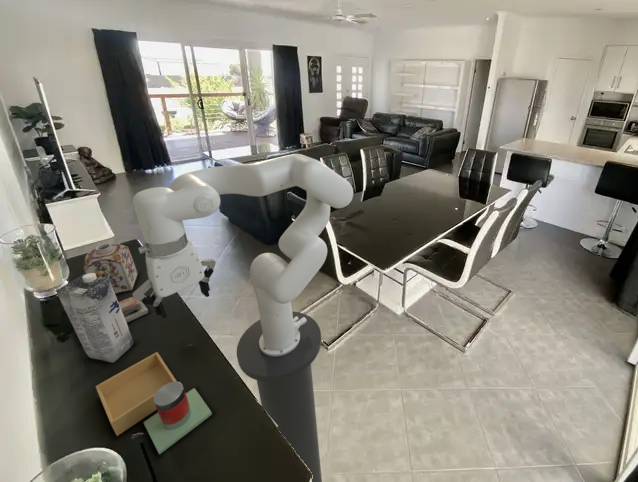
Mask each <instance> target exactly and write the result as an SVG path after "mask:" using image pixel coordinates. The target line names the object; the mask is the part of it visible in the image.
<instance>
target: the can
mask: <svg viewBox="0 0 638 482" xmlns="http://www.w3.org/2000/svg"><path fill="white" fill-rule="evenodd" d="M186 393H187V392H186V391H185V387H184V385H183V383H182V382H180V381H177V382H170V383H167V384H165V385H164V386H162V387H161V388H160V389H159V390H158V391H157V392H156V394H155V396H154V403H155V405H156V409H157V410H156V411H157V413H158V414H159V416H160V419H161V421H162V423H163V425H164V427H165V428H166V429H168V430H174V429H177V428H179V427H181V426H182V425H184V424H185V423H186V422H187V420H188V419H189V417H190V415H191V409H190V405H189V402H188V399H187V396H186Z"/></svg>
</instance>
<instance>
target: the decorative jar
mask: <svg viewBox="0 0 638 482" xmlns="http://www.w3.org/2000/svg"><path fill="white" fill-rule="evenodd" d="M83 271H84V274H89V273H95V274H96V277H105V278H110V281H111V285H112V287H113V290H114V292H115V295H117V294H119V293H124V292H130V291H132V290H133V289H134V286H135V283H136V280H137V277H138V274H139V273H138V270H137V267H136V265H135V262H134V258H133V256H132V254H131V251H130V249H129V246H127V245H124V244H120V243H101V244H99V245H97V246H95V248H94V249H92V250H89V251H88V252H87V253H86V255H85V257H84V263H83Z"/></svg>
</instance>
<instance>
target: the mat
mask: <svg viewBox="0 0 638 482" xmlns="http://www.w3.org/2000/svg"><path fill="white" fill-rule="evenodd" d="M185 393H186V396H187V399H188V402H189V405H190V409H191V415H190V417H189V419H188V420H187V422H186V423H185V424H184V425H182V426H181V427H179V428H177V429H174V430H168V429H166V428H165V427H164V425H163V423H162V421H161V419H160V416H159V414H158V412H156V413H155V414H153V415H152V416H150V417H149V418H148V419H146V420H145V421H143V425H144V427H145V429H146V431H147V433H148V435H149V437H150V439H151V441H152V443H153V445H154V447H155V449H156V451H157V453H158V455H161V454H162V453H163V452H166V450H168V449H169V448H170V447H171V446H173V445H174V444H176V443H177V442H178V441H179V440H180V439H182V438H184V436H186V435H187V434H189V433H190V432H192V431H193V430H194V429H195V428H196V427H198V426H199V425H200V424H202V423H203V422H205V420H207V419H208V418H210V417H211V416H213V413H212V411H211V409H210V408H209V406H208V405H207V403H206V402H205V401H204V399H203V398H202V396H201V395H200V394H199V392H198V391H197V390H196V388H195V387H194V388H192V389H191V390H189V391H187V392H185Z"/></svg>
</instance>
